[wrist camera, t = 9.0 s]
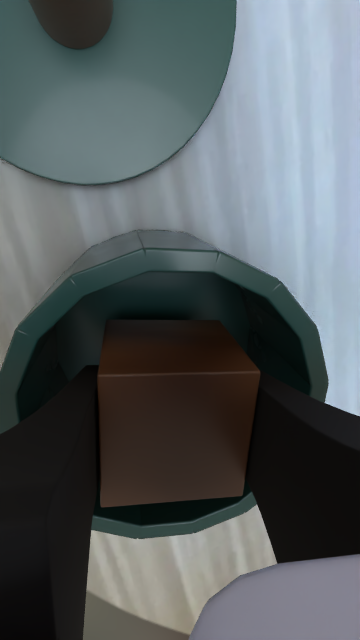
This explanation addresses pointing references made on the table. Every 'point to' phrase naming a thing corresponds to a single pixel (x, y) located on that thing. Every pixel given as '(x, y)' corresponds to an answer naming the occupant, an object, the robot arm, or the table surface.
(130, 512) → the tin
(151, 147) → the lid
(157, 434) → the block
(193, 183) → the table surface
